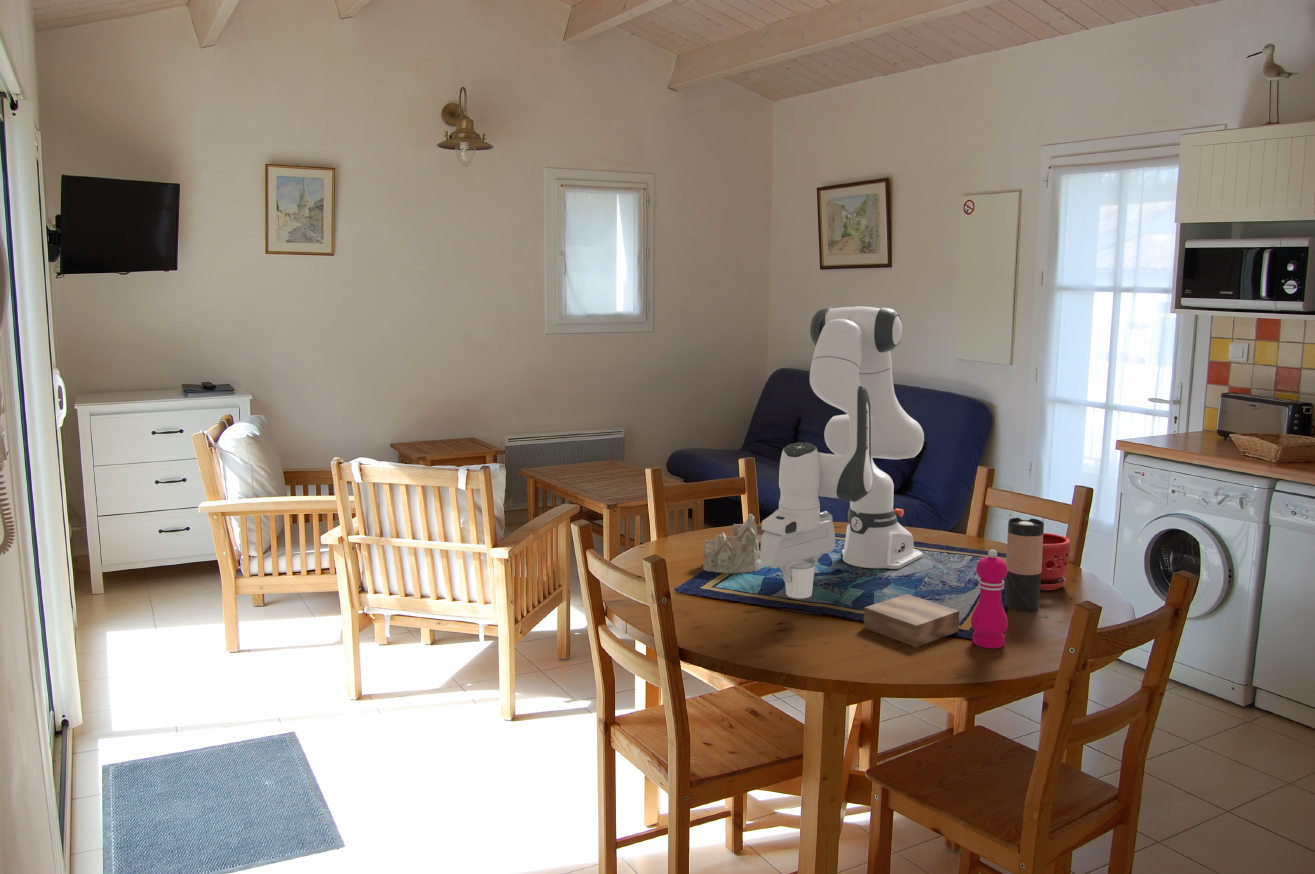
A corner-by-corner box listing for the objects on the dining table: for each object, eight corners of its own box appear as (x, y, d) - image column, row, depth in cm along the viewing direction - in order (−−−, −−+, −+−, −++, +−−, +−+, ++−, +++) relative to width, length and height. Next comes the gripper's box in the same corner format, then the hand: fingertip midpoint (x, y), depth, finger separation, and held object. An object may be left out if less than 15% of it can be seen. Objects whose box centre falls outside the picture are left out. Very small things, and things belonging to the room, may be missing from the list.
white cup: (813, 600, 213) (814, 569, 211) (782, 598, 214) (782, 568, 213) (815, 589, 219) (815, 559, 218) (784, 588, 221) (784, 558, 219)
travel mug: (1022, 614, 218) (1027, 527, 215) (996, 604, 225) (1000, 519, 221) (1046, 608, 222) (1051, 523, 218) (1020, 598, 228) (1024, 515, 225)
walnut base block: (906, 615, 220) (906, 593, 219) (958, 633, 209) (959, 610, 208) (863, 629, 212) (864, 607, 211) (915, 648, 200) (916, 625, 200)
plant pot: (1075, 583, 238) (1078, 536, 236) (1054, 597, 229) (1057, 548, 227) (1023, 573, 247) (1025, 527, 245) (1001, 585, 238) (1003, 538, 236)
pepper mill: (964, 637, 205) (968, 545, 202) (997, 635, 206) (1002, 544, 202) (978, 650, 198) (982, 555, 195) (1013, 648, 199) (1017, 554, 195)
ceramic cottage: (766, 556, 264) (762, 502, 261) (760, 577, 248) (756, 520, 245) (709, 556, 267) (705, 504, 264) (699, 577, 252) (695, 521, 249)
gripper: (821, 506, 222) (820, 564, 225) (755, 523, 210) (756, 584, 212) (842, 512, 217) (841, 571, 220) (776, 529, 205) (776, 592, 207)
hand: (799, 578), depth 216 cm, fingers closed on white cup, 5 cm apart
